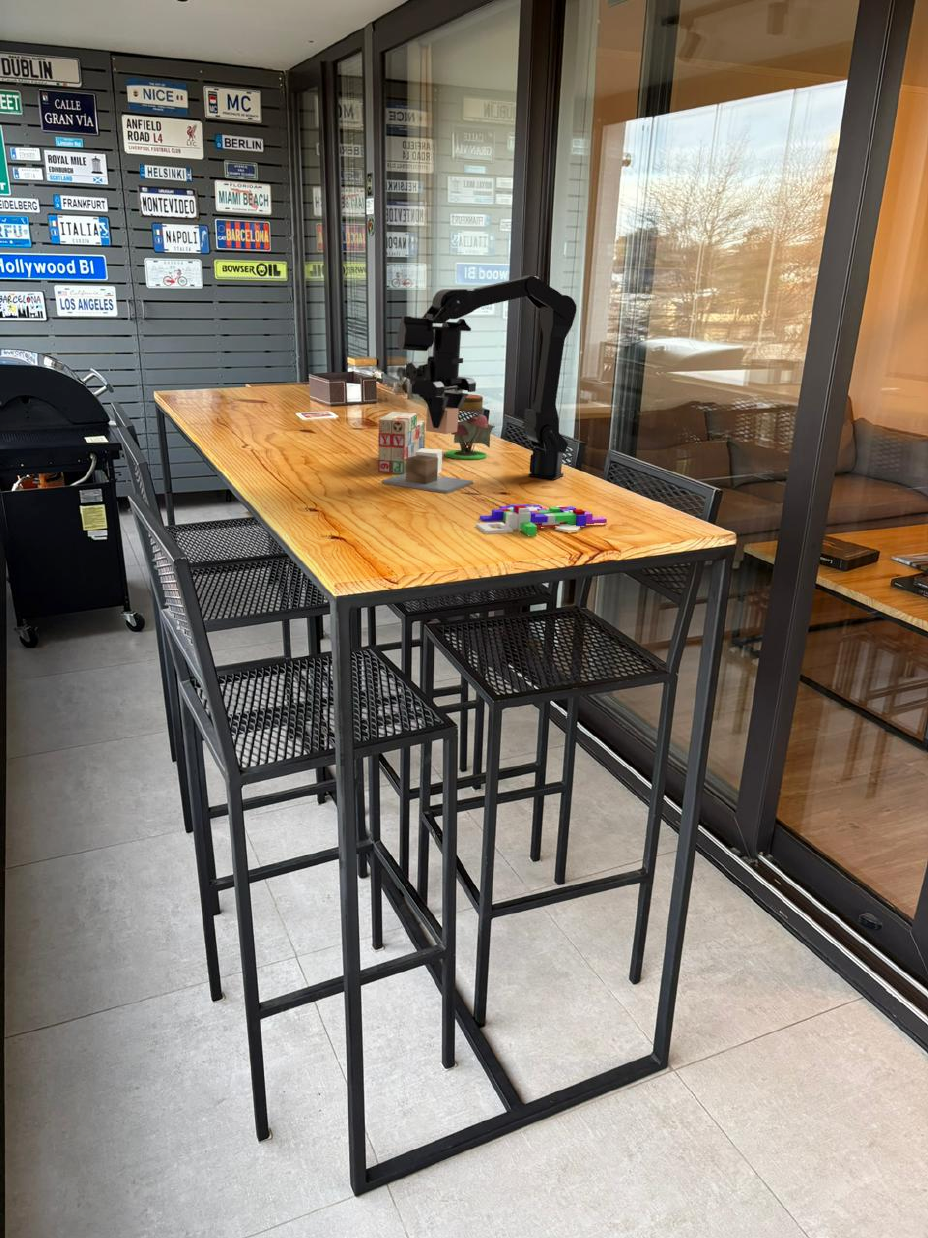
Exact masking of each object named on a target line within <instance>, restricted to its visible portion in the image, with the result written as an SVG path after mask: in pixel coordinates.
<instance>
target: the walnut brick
mask: <svg viewBox="0 0 928 1238" xmlns="http://www.w3.org/2000/svg"><path fill="white" fill-rule="evenodd" d="M437 471H438V458H437V457H430V456H423V455H416V456H412V457H409V458H406V481H408V482H414V483H421V484H428V483H431V482H434V481H437V476H438V474H437Z"/></svg>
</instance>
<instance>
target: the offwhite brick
mask: <svg viewBox="0 0 928 1238" xmlns="http://www.w3.org/2000/svg"><path fill="white" fill-rule="evenodd" d="M416 455H423V456H430V457H437V458H438V471H437V475H438V474H440V473H441V472H442V468H443V467H442V466H443V465H442V463H443V449H436V448H435V449H434V448H426V447H425V448H421V449H419V450H418V451H416Z"/></svg>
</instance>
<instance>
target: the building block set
mask: <svg viewBox="0 0 928 1238" xmlns="http://www.w3.org/2000/svg"><path fill="white" fill-rule="evenodd" d="M478 516H479V519H480V520H481V521H482V522H480V523H475V527H476V528H477V529H478V530H479V531H481V532H482V531H483V532H482V533H484V534H486V535H489V534H488V533H492V534H505V533H506V534H507V532H511V533H513V532H514V531H515V530H518V531H519V532H520V531H524V532H523V533H525V534H526V535H536V536H537V533H538V531H537V530H538V529H542V528H541V527H555V526H559V527H556V528H555V530H561V531H578V530H579V529H580V530H581V528H582V527H581V526H586V524H594V523H606V524H607V522H608V519H607V518H605V517H604V516H596V517H595V516H594V514H593V513H592V512H590V511H588V510H583V509H582V508H580V509H579V508H577V507H575V506H573V505H570V506H565V505H555V506H550V507H548V508H546V507H543V506H541V505H539V504H528V503H527V504H526V503H525V504H507V505H504V506H499V508H498V509H491V514H490V515H489V514H488V515H478ZM500 521H501V522H500ZM502 521H503V522H502ZM504 522H505V523H504ZM573 525H576V526H573ZM580 527H581V528H580ZM586 527H587V526H586ZM537 528H538V529H537ZM580 530H579V531H580ZM525 534H524V535H525ZM526 535H525V536H526Z"/></svg>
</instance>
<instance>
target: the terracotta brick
mask: <svg viewBox="0 0 928 1238" xmlns="http://www.w3.org/2000/svg"><path fill="white" fill-rule="evenodd" d="M459 412H460V411H459V409H457V408H450V407H445V410H444V413H443V417H442V420H441V423H440V425H439V428H434V427H433V424H432V420H431V416H430V412H429V408H428V407H426V423H425V425H426V427H425V431H426V432H429V433H436V434H437V433H438V434H443V435H448V434H451V433H454V432H457V426H458V422H459Z"/></svg>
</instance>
